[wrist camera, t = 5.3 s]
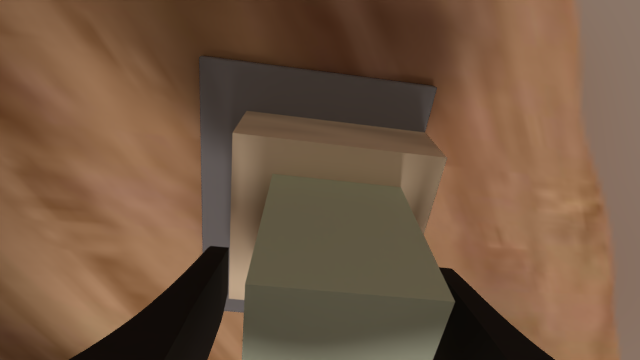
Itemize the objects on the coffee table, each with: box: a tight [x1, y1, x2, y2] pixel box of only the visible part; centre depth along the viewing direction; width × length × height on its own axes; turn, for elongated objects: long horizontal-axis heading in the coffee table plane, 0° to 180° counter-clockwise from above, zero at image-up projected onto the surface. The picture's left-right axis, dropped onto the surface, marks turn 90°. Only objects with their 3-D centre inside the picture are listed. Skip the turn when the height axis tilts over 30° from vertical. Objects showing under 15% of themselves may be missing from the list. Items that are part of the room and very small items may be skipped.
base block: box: [229, 111, 447, 300], centre depth 16 cm, size 8×8×3 cm
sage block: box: [242, 174, 455, 360], centre depth 12 cm, size 5×5×6 cm
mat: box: [199, 56, 437, 312], centre depth 18 cm, size 14×10×1 cm
